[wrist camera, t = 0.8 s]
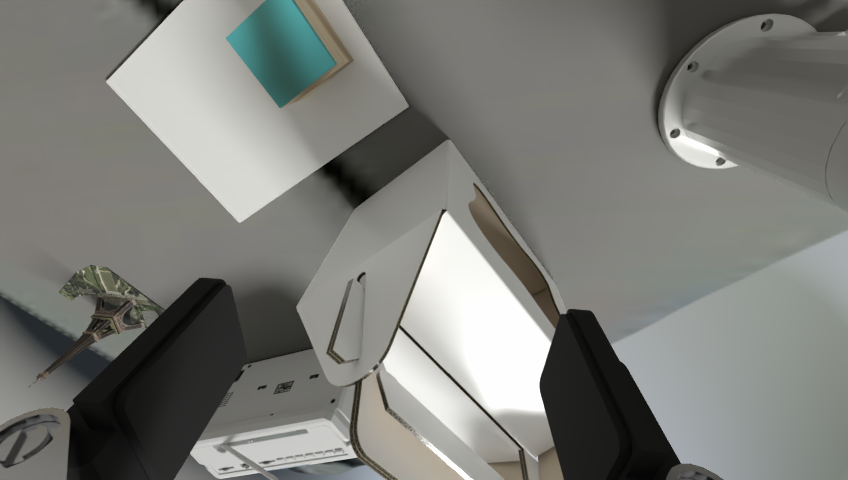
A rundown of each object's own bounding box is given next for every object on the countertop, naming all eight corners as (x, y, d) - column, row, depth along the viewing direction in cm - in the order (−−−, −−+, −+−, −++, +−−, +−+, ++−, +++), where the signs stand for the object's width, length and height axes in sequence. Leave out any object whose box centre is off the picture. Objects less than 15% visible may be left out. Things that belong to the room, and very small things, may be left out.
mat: (280, -99, 28) (278, -101, 28) (409, 106, 35) (409, 106, 35) (108, 81, 36) (106, 81, 36) (240, 221, 43) (239, 223, 42)
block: (310, -6, 31) (281, -15, 26) (354, 60, 33) (335, 64, 28) (262, 38, 33) (225, 38, 28) (305, 98, 35) (279, 108, 30)
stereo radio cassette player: (264, 395, 58) (182, 549, 40) (235, 359, 54) (130, 511, 37) (384, 370, 53) (349, 533, 36) (360, 329, 50) (308, 487, 32)
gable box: (557, 285, 44) (686, 597, 19) (466, 332, 48) (477, 632, 24) (447, 135, 36) (432, 333, 12) (352, 207, 41) (197, 457, 16)
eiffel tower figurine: (192, 324, 52) (116, 406, 40) (156, 354, 56) (77, 438, 44) (93, 253, 47) (-26, 322, 36) (62, 291, 51) (-55, 366, 39)
